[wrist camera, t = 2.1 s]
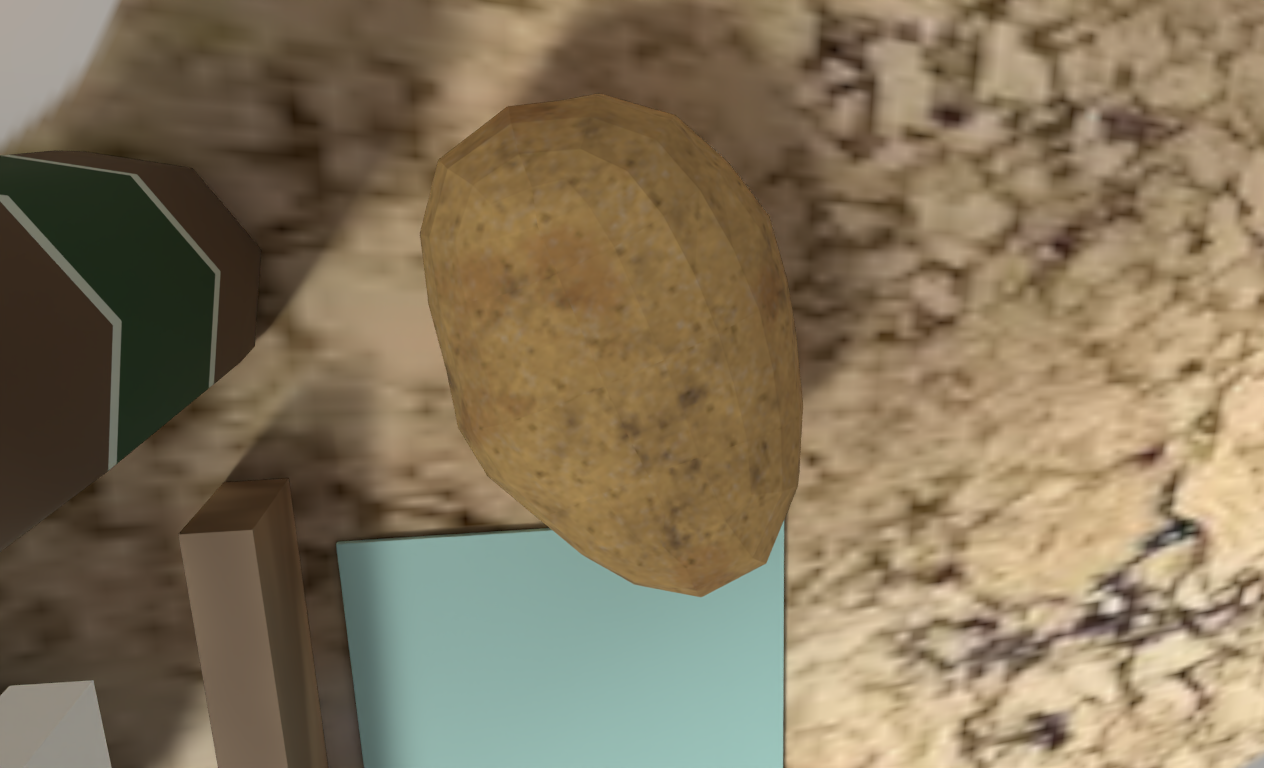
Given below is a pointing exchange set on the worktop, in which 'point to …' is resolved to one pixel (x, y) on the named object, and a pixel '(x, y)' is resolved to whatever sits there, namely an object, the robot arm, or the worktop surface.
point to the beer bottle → (107, 315)
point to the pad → (556, 658)
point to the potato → (618, 337)
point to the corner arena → (253, 628)
